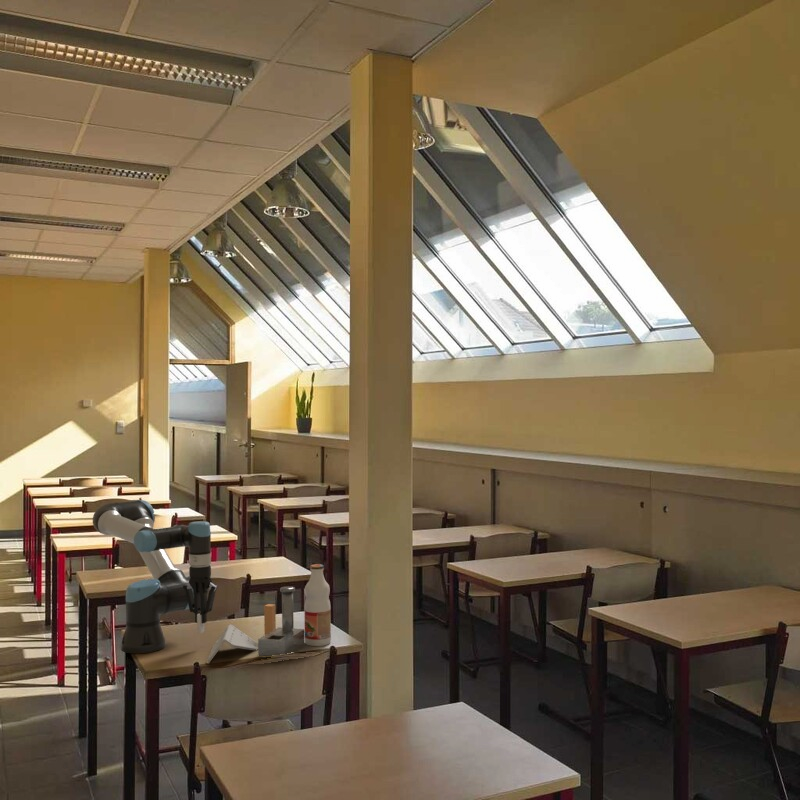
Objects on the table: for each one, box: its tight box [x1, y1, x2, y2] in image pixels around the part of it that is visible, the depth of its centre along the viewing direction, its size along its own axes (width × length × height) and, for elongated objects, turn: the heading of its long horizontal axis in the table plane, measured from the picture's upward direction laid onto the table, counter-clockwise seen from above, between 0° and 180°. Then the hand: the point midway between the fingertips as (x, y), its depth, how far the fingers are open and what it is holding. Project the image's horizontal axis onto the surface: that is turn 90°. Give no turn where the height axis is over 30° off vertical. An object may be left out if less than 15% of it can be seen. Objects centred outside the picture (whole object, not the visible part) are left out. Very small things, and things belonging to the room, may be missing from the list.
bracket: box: [206, 623, 258, 663], centre depth 286 cm, size 13×10×20 cm
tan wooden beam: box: [263, 603, 277, 636], centre depth 301 cm, size 3×3×13 cm
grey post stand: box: [257, 586, 306, 656], centre depth 288 cm, size 10×16×21 cm, turn 162°
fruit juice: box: [303, 563, 332, 647], centre depth 298 cm, size 9×9×28 cm
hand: (201, 632), depth 293 cm, fingers closed
